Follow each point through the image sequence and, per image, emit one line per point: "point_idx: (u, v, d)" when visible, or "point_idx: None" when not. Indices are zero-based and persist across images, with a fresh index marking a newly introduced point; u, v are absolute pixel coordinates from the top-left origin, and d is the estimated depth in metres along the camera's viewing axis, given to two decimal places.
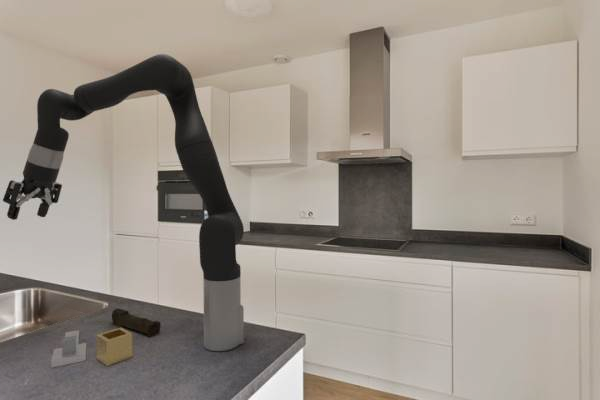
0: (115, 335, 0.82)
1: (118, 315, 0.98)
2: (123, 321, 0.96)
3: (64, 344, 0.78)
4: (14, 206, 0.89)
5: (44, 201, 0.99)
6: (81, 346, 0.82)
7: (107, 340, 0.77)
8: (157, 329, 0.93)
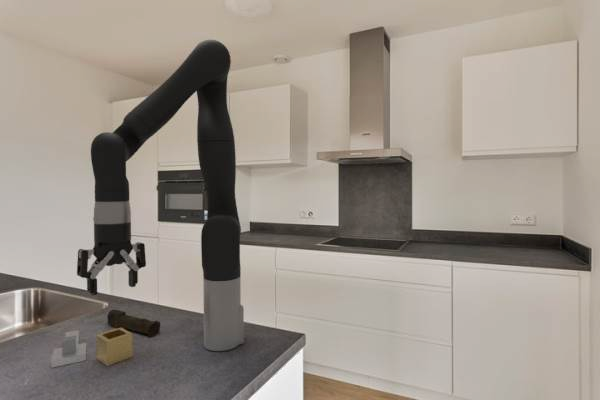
0: (115, 335, 0.82)
1: (115, 316, 0.97)
2: (121, 322, 0.96)
3: (64, 344, 0.78)
4: (89, 279, 0.75)
5: (131, 267, 0.83)
6: (81, 346, 0.82)
7: (107, 340, 0.77)
8: (157, 329, 0.93)
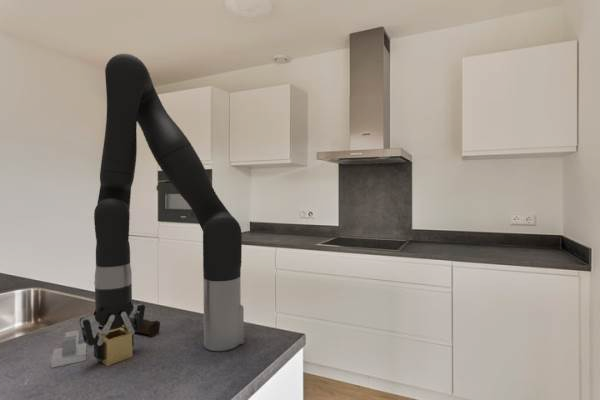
0: (115, 335, 0.82)
1: None
2: None
3: (64, 344, 0.78)
4: (96, 345, 0.76)
5: (127, 330, 0.82)
6: (81, 346, 0.82)
7: (107, 340, 0.77)
8: (158, 329, 0.93)
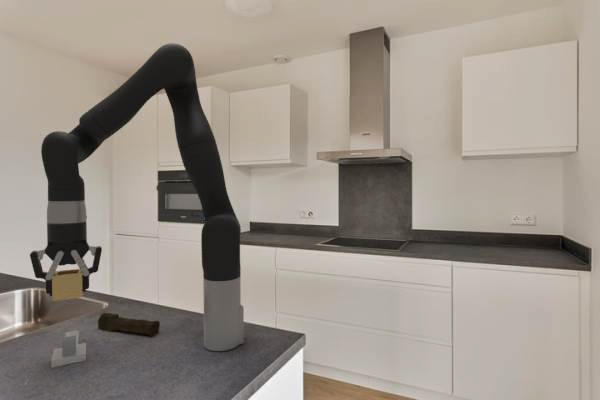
0: None
1: (108, 319, 0.94)
2: (116, 324, 0.94)
3: (64, 344, 0.78)
4: (46, 280, 0.76)
5: None
6: (81, 346, 0.82)
7: (54, 275, 0.76)
8: (158, 329, 0.93)
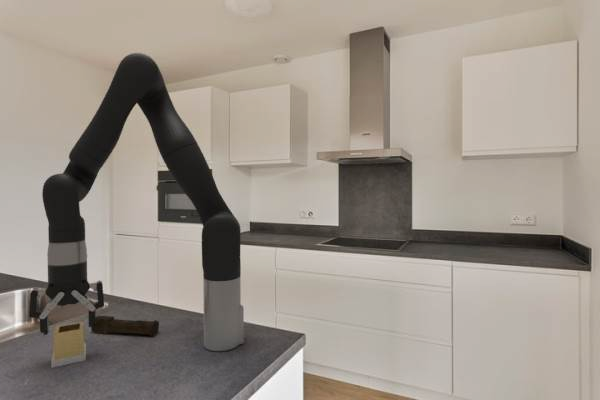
0: (75, 329, 0.82)
1: (104, 321, 0.93)
2: (113, 327, 0.92)
3: None
4: (40, 319, 0.76)
5: None
6: None
7: (55, 333, 0.76)
8: (157, 328, 0.93)
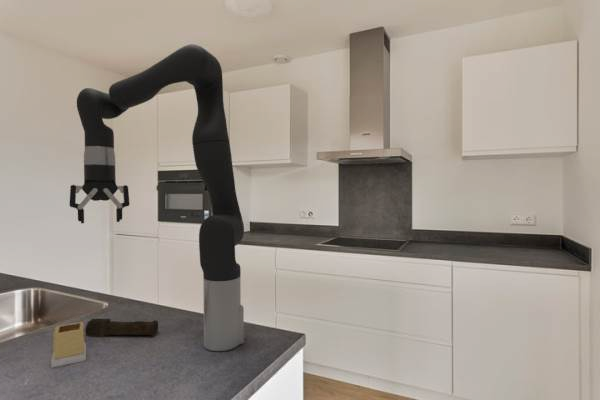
0: (75, 329, 0.82)
1: (100, 324, 0.91)
2: (110, 329, 0.91)
3: None
4: (77, 209, 0.92)
5: None
6: None
7: (55, 333, 0.76)
8: (157, 328, 0.93)
